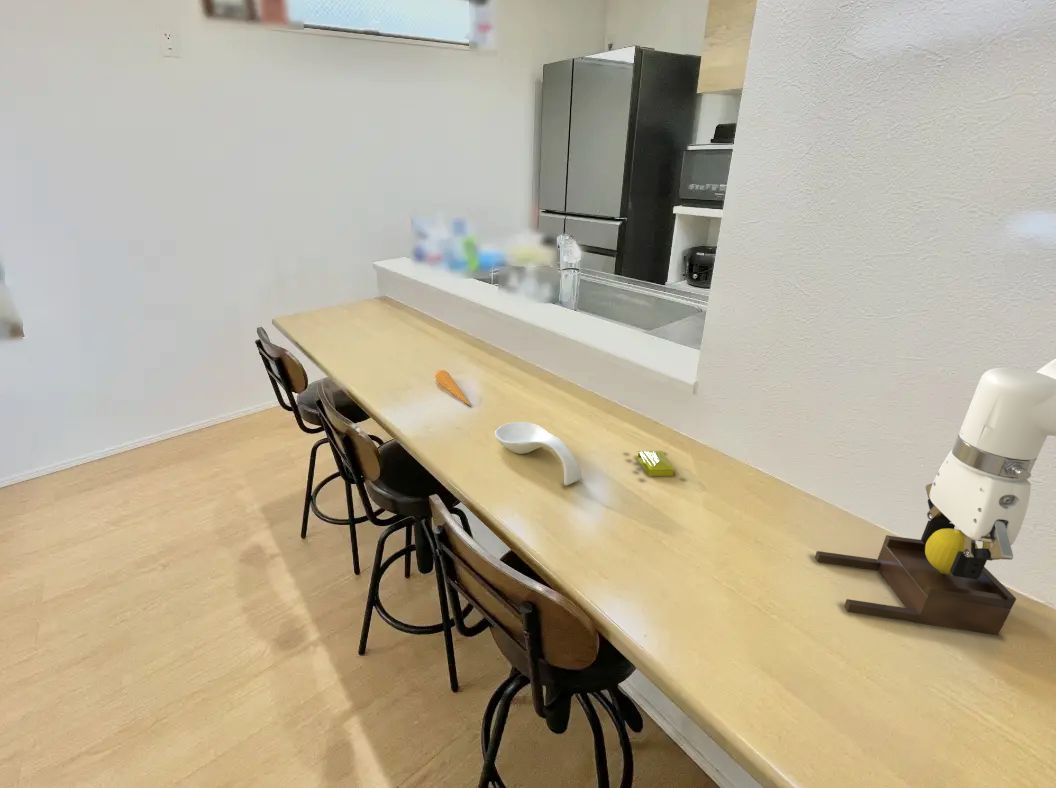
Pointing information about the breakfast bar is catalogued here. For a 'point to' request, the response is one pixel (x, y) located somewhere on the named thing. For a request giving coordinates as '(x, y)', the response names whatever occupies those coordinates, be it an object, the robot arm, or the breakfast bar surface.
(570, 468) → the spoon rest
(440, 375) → the carrot
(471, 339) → the breakfast bar surface
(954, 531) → the lemon
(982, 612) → the brown wooden wheelbarrow
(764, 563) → the breakfast bar surface
